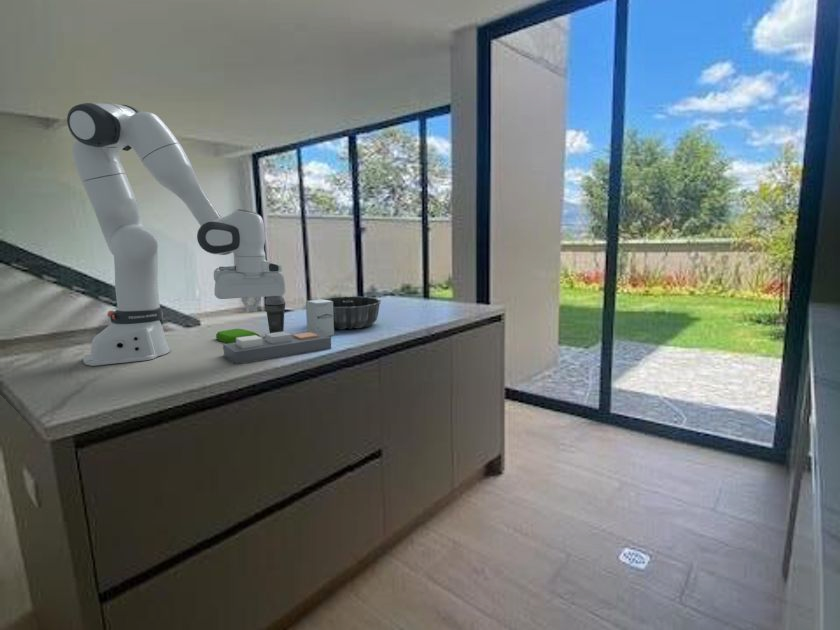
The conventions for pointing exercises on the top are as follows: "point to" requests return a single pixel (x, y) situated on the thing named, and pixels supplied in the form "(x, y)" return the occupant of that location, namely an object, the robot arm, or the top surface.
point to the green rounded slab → (234, 335)
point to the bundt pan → (354, 311)
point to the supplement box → (320, 317)
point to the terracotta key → (305, 336)
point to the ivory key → (249, 341)
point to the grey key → (278, 337)
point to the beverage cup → (275, 313)
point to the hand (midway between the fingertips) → (251, 312)
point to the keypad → (276, 349)
